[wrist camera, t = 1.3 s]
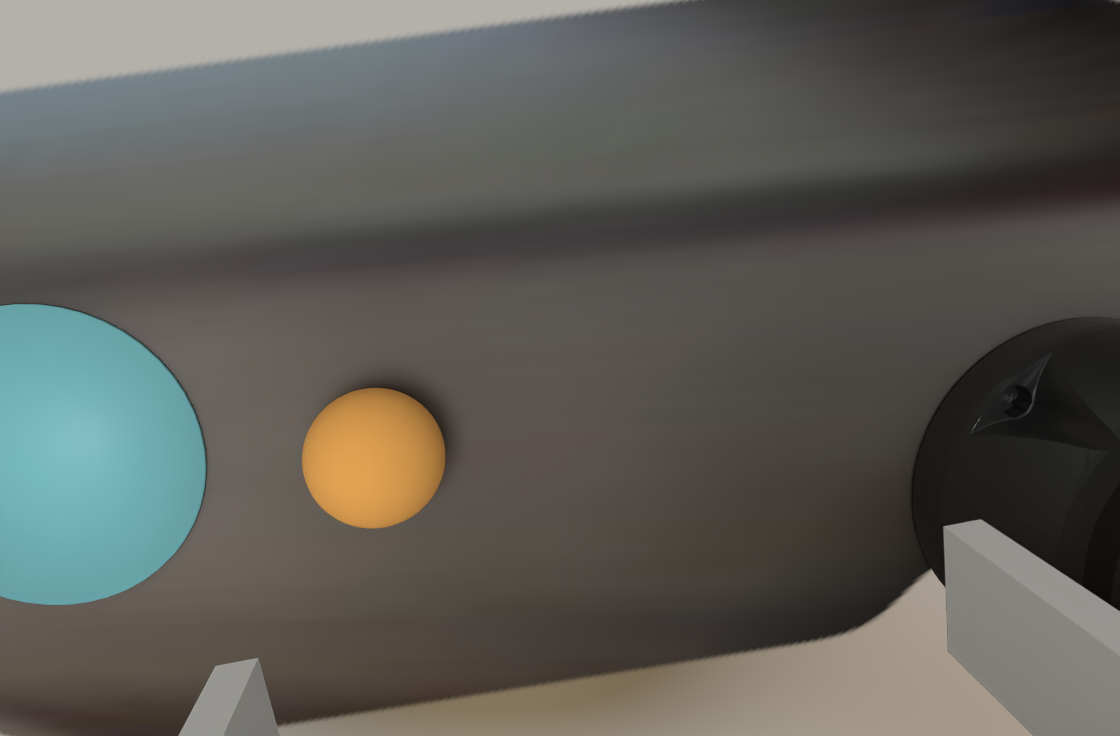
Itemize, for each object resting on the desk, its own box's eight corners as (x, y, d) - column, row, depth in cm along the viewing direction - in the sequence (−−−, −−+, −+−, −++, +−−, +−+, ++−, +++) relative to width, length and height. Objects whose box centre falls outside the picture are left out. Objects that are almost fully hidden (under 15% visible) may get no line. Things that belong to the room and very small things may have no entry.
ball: (444, 371, 34) (434, 402, 29) (453, 494, 35) (445, 546, 30) (312, 378, 34) (277, 411, 28) (326, 502, 35) (294, 557, 29)
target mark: (184, 295, 32) (182, 296, 32) (225, 590, 35) (223, 593, 35) (-154, 312, 32) (-158, 313, 31) (-86, 613, 34) (-89, 616, 34)
